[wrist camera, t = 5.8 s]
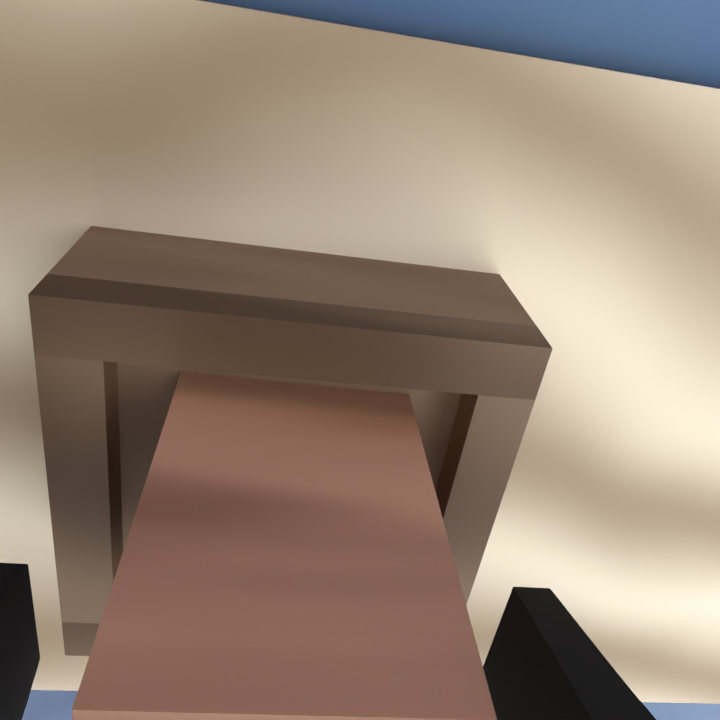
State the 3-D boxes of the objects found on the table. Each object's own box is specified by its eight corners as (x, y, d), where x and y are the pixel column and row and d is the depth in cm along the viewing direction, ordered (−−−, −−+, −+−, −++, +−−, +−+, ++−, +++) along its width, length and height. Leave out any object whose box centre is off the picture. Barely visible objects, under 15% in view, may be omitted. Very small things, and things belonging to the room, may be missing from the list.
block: (370, 555, 13) (414, 906, 8) (174, 542, 13) (87, 915, 8) (408, 394, 12) (497, 720, 6) (181, 371, 11) (71, 710, 6)
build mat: (777, 688, 22) (859, 808, 19) (12, 670, 19) (-50, 813, 15) (1162, 164, 14) (1434, 216, 10) (-108, -53, 10) (-304, -77, 7)
